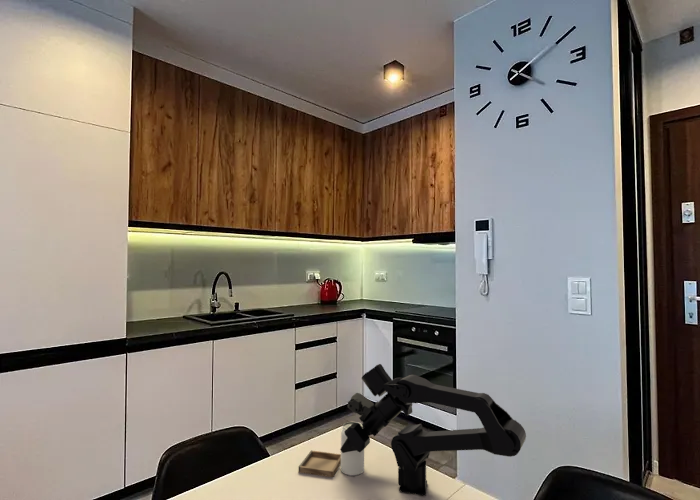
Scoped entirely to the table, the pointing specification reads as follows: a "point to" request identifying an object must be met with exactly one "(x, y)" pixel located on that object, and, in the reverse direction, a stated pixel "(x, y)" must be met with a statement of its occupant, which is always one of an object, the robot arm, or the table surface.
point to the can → (351, 456)
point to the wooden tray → (320, 463)
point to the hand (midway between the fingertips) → (347, 444)
